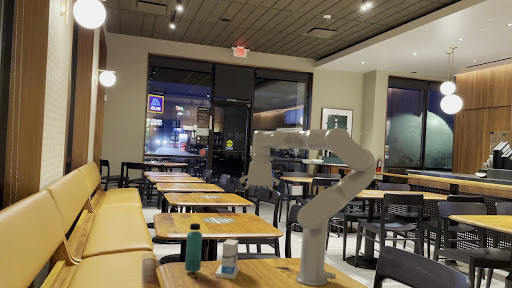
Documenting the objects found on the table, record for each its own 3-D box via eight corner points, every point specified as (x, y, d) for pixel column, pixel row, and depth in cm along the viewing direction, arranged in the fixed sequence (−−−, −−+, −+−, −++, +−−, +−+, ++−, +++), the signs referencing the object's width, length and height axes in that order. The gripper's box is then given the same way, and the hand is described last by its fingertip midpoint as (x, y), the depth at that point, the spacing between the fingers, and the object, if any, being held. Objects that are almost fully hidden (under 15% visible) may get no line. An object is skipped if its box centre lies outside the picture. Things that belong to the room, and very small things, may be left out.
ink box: (232, 274, 157) (234, 244, 157) (220, 273, 157) (222, 243, 157) (237, 267, 165) (238, 239, 165) (225, 266, 166) (227, 238, 166)
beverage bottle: (186, 276, 156) (189, 225, 156) (182, 270, 162) (185, 222, 162) (202, 274, 158) (205, 225, 158) (198, 269, 165) (200, 221, 164)
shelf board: (238, 269, 167) (238, 266, 167) (234, 278, 156) (235, 275, 156) (220, 268, 168) (220, 264, 168) (215, 277, 157) (215, 273, 157)
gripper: (281, 160, 172) (278, 199, 172) (242, 157, 174) (239, 196, 174) (280, 161, 165) (278, 201, 165) (239, 158, 166) (237, 198, 166)
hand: (258, 199), depth 169 cm, fingers open, 9 cm apart
